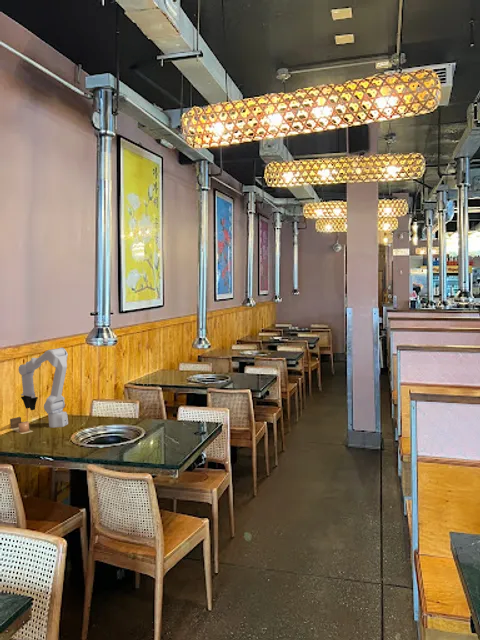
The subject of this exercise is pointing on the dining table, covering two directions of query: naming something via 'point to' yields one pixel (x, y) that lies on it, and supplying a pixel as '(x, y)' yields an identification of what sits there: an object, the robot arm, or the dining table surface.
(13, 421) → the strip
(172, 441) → the dining table surface
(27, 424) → the tan round lump
